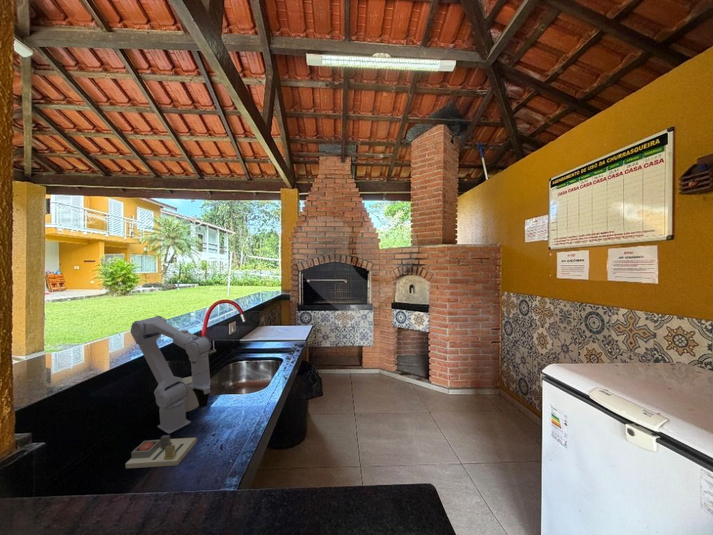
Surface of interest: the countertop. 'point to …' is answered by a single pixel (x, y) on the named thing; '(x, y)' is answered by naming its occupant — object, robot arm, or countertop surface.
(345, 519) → the countertop surface
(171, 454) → the yellow slider knob
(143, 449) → the red button
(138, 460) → the panel
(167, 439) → the grey slider knob
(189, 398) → the cup
